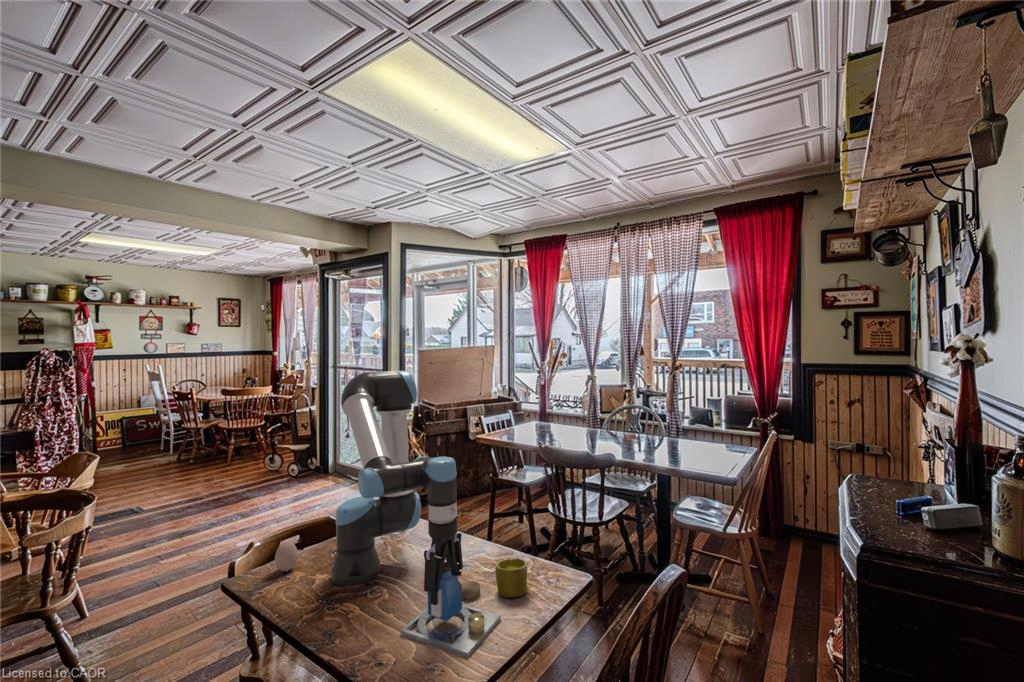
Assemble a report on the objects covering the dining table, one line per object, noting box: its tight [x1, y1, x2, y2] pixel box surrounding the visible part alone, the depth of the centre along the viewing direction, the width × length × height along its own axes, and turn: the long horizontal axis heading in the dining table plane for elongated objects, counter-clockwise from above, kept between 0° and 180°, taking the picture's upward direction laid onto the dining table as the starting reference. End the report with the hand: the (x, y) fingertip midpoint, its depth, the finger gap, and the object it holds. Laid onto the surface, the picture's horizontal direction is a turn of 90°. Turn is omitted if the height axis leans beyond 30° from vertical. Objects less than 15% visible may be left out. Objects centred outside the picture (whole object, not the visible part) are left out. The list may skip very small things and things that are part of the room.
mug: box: [495, 556, 528, 599], centre depth 131 cm, size 12×10×10 cm
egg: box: [274, 540, 299, 572], centre depth 146 cm, size 7×7×10 cm
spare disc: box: [460, 580, 481, 601], centre depth 129 cm, size 6×6×2 cm
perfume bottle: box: [427, 561, 463, 623], centre depth 115 cm, size 6×6×12 cm
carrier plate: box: [400, 603, 502, 659], centre depth 114 cm, size 20×16×4 cm
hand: (445, 607), depth 115 cm, fingers closed on perfume bottle, 6 cm apart
